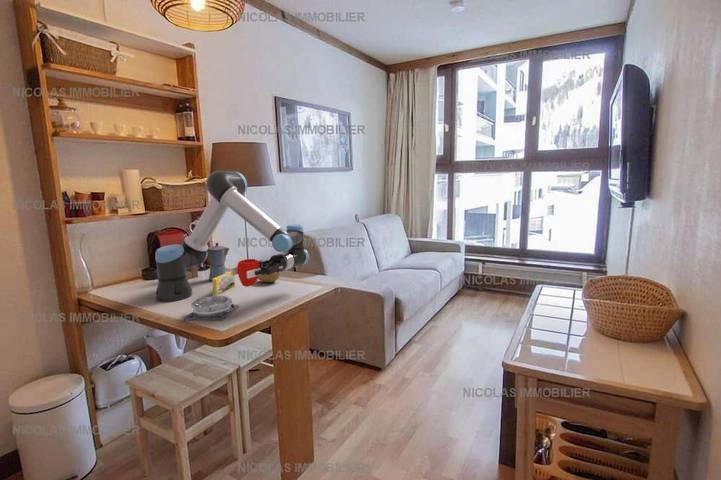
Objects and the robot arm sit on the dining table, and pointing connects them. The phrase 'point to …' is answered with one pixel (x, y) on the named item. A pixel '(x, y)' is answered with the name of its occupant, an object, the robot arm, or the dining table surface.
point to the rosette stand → (212, 308)
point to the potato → (269, 277)
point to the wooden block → (192, 273)
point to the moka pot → (217, 260)
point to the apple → (242, 271)
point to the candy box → (223, 283)
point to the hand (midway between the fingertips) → (239, 273)
